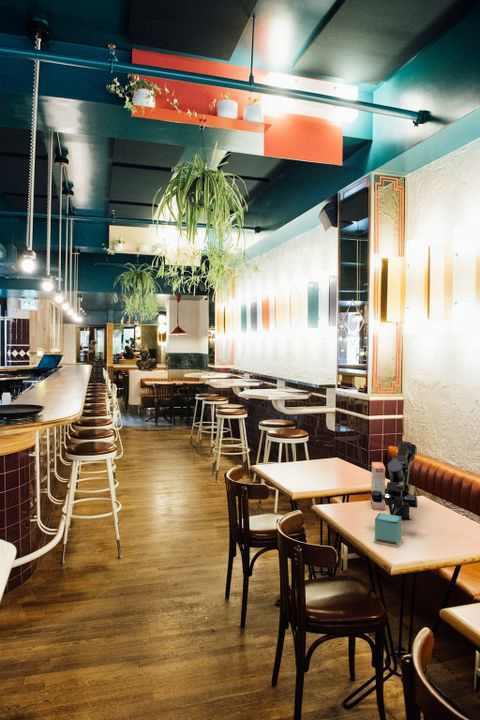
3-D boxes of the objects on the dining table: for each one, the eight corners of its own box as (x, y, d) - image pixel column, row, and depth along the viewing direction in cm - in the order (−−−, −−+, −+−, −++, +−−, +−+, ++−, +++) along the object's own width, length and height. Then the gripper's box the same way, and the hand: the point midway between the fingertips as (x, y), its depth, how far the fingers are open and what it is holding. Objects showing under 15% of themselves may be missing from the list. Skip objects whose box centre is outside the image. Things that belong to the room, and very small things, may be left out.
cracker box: (385, 510, 239) (385, 468, 239) (372, 509, 240) (373, 467, 240) (382, 502, 253) (383, 461, 253) (370, 501, 254) (371, 461, 254)
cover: (378, 534, 205) (379, 513, 205) (401, 537, 201) (401, 516, 201) (374, 540, 198) (375, 518, 198) (397, 544, 194) (398, 522, 193)
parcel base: (378, 534, 207) (378, 532, 207) (403, 538, 202) (403, 536, 202) (373, 542, 198) (373, 540, 198) (399, 547, 193) (399, 544, 193)
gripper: (372, 471, 214) (366, 503, 205) (417, 476, 206) (413, 510, 196) (375, 485, 221) (370, 516, 212) (419, 491, 213) (415, 523, 203)
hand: (391, 516), depth 205 cm, fingers closed
